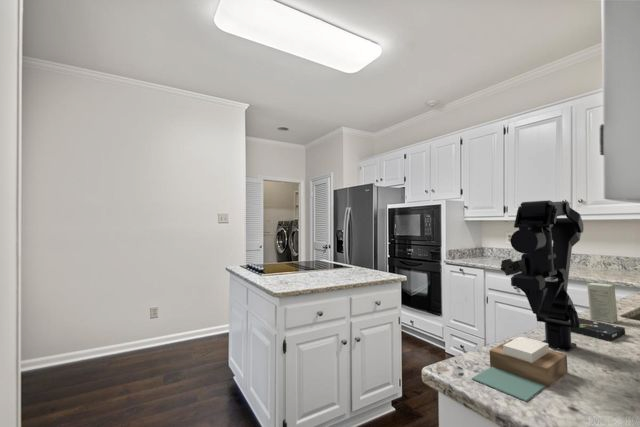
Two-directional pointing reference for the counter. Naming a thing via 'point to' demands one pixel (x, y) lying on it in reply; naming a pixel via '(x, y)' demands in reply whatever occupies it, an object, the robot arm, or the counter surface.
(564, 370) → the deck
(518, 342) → the cream rectangular block
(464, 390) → the counter surface
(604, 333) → the disk drive
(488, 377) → the mat
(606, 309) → the skincare box
